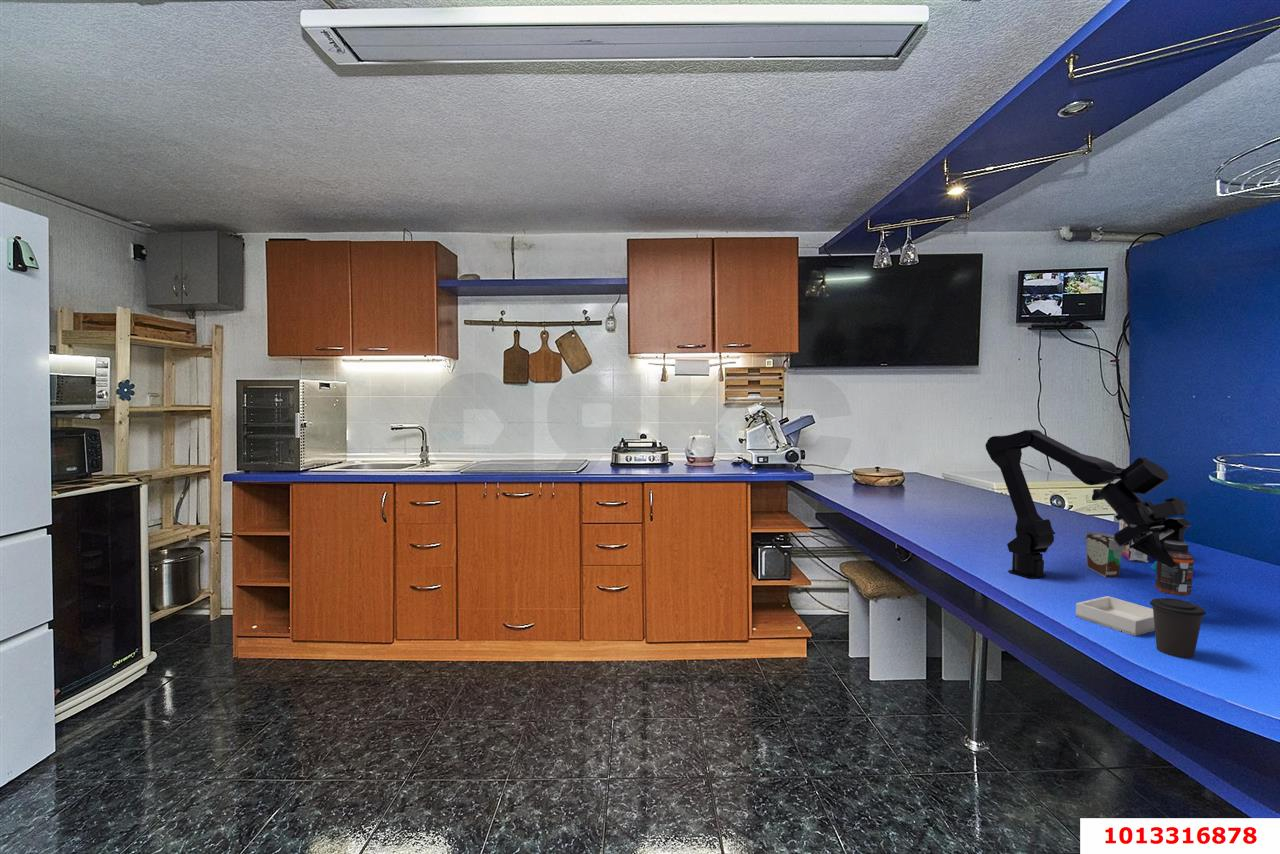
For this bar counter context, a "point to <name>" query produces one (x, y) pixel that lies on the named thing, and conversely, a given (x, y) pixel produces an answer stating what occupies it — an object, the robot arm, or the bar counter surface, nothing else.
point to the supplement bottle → (1175, 570)
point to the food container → (1103, 554)
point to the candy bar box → (1132, 550)
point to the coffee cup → (1176, 626)
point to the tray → (1117, 615)
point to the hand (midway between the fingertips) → (1182, 564)
